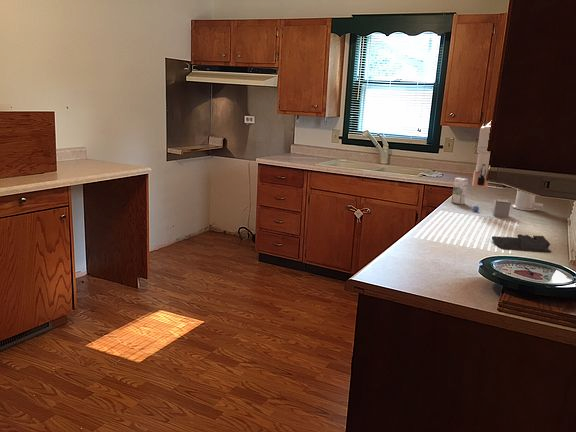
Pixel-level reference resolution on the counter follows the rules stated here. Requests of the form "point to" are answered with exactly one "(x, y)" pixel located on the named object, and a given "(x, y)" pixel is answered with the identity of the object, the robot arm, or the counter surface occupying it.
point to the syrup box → (459, 190)
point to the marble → (475, 208)
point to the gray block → (501, 208)
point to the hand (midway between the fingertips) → (479, 183)
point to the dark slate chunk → (523, 243)
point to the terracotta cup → (475, 180)
